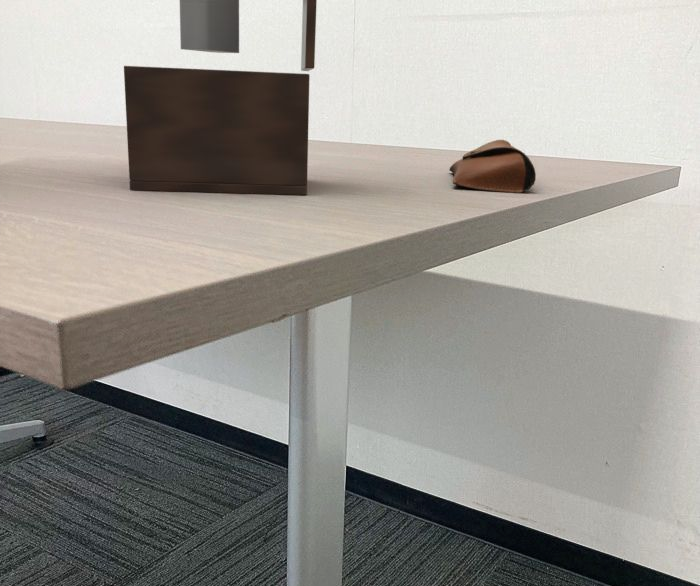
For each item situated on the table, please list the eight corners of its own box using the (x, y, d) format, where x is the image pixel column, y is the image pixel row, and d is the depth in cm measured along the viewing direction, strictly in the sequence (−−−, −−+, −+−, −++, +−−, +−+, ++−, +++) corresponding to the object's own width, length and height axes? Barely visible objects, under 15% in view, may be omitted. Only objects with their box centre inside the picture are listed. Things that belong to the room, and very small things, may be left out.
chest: (129, 190, 68) (123, 65, 64) (151, 174, 80) (147, 68, 76) (306, 195, 69) (309, 73, 66) (302, 179, 81) (304, 75, 78)
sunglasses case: (444, 167, 95) (477, 120, 93) (491, 199, 96) (524, 153, 93) (451, 184, 78) (490, 126, 76) (507, 223, 79) (548, 167, 76)
